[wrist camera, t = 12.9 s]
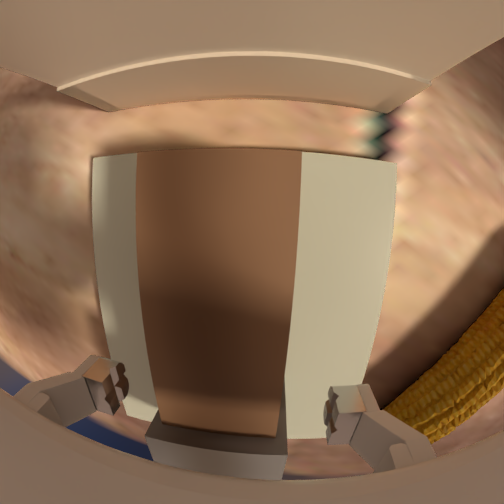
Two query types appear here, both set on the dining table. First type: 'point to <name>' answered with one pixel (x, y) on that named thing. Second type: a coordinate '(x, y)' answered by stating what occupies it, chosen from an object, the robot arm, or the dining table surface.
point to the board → (305, 287)
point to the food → (457, 379)
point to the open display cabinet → (243, 48)
